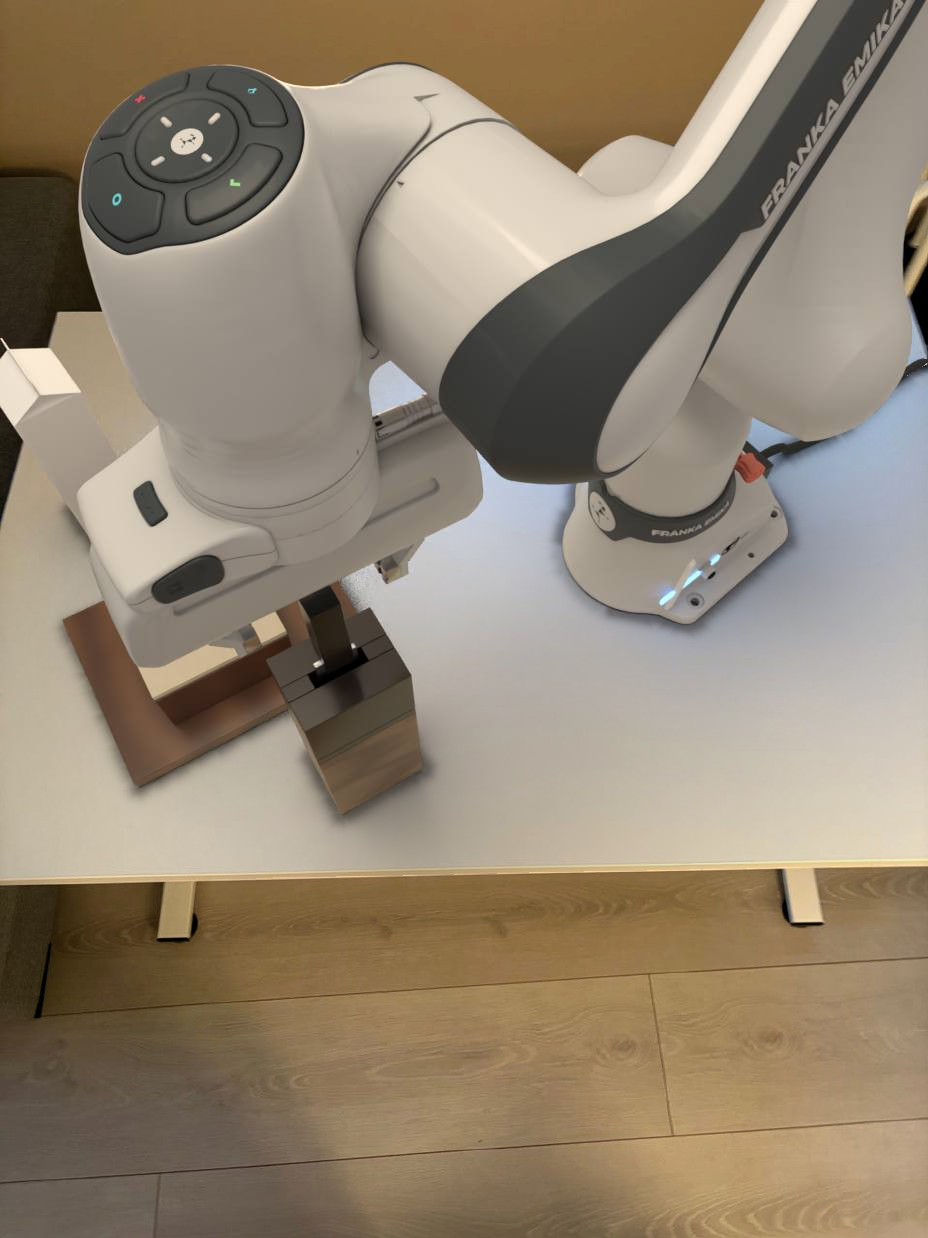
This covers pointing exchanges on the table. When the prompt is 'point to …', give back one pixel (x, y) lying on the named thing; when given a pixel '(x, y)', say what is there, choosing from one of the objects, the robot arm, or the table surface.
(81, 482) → the milk
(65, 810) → the table surface
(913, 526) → the table surface
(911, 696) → the table surface
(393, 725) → the knife block
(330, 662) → the knife
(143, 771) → the board
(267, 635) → the cake
